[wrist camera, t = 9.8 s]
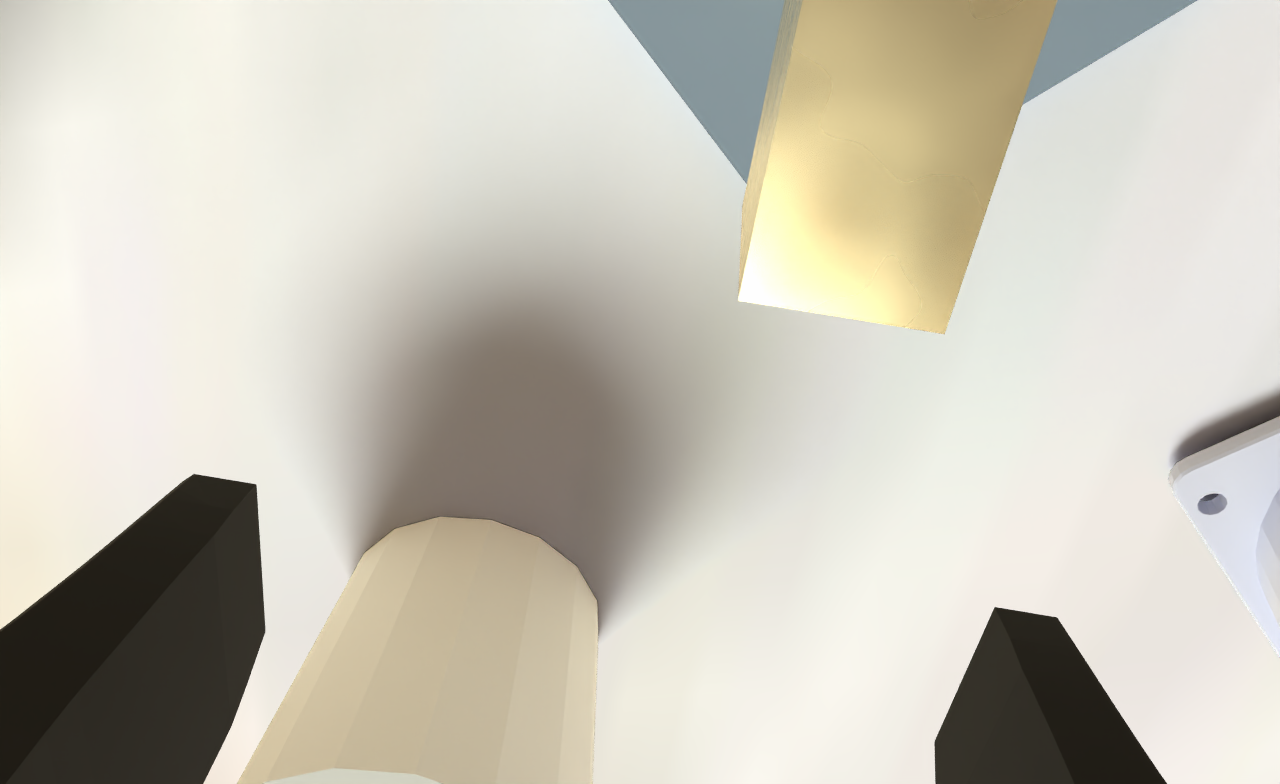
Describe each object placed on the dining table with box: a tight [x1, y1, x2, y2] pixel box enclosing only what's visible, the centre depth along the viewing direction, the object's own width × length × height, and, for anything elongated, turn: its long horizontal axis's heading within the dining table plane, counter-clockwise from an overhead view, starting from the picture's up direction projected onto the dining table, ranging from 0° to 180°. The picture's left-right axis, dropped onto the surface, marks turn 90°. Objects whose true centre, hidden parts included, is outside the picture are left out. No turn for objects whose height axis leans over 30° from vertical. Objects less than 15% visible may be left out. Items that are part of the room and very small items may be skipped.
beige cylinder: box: [237, 517, 598, 784], centre depth 24 cm, size 7×7×7 cm
